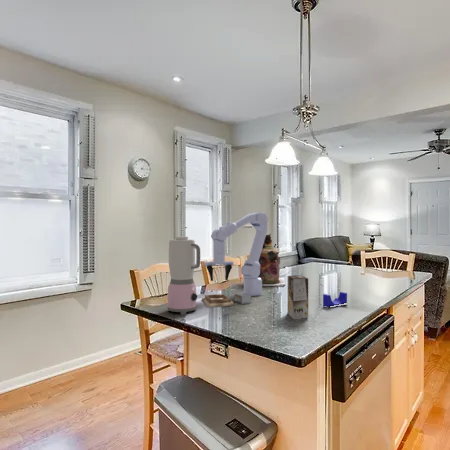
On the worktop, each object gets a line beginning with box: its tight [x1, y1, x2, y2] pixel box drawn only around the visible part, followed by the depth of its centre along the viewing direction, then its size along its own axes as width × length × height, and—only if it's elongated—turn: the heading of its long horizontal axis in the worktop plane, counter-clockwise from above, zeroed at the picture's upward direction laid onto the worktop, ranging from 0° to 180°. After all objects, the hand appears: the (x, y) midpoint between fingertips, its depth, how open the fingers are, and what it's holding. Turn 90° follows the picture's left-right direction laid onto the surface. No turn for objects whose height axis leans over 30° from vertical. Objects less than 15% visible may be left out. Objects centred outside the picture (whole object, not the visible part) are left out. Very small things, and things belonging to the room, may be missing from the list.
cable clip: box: [322, 291, 348, 308], centre depth 155 cm, size 12×4×6 cm, turn 119°
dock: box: [201, 293, 235, 308], centre depth 162 cm, size 12×16×3 cm
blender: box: [167, 236, 201, 315], centre depth 145 cm, size 16×12×32 cm
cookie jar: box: [258, 233, 286, 287], centre depth 216 cm, size 25×25×32 cm
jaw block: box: [234, 292, 252, 305], centre depth 163 cm, size 5×7×4 cm
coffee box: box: [287, 274, 309, 320], centre depth 138 cm, size 9×6×16 cm
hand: (219, 280), depth 171 cm, fingers open, 7 cm apart
